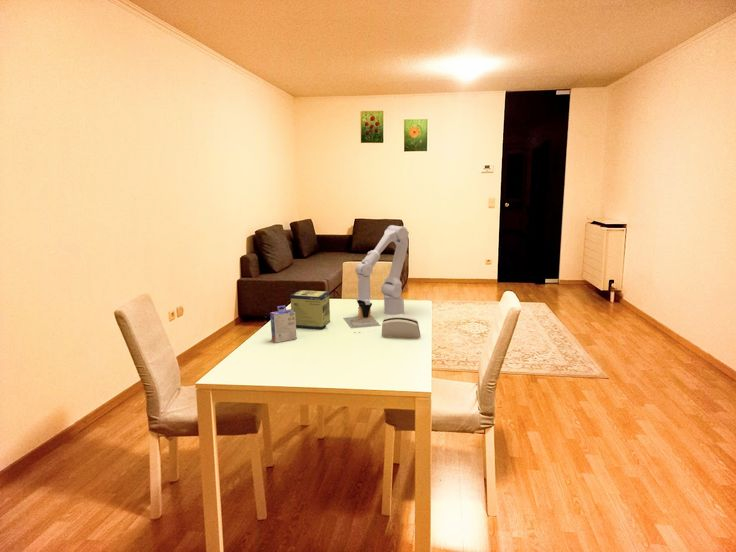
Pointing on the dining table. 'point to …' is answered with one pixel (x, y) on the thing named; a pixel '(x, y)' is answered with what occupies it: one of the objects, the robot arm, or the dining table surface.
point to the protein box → (311, 309)
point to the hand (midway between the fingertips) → (364, 315)
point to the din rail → (363, 322)
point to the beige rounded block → (400, 327)
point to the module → (362, 313)
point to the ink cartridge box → (283, 324)
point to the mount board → (357, 318)
